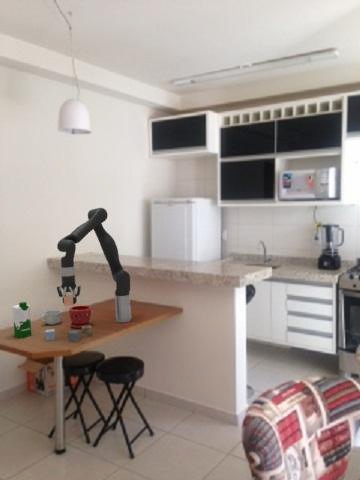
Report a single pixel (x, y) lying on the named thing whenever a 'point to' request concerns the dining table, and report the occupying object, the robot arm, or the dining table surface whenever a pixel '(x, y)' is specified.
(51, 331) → the slate blue cube
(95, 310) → the dining table surface
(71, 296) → the terracotta cube
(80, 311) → the plant pot
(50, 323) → the teacup
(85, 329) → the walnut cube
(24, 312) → the milk carton
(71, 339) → the charcoal cube
